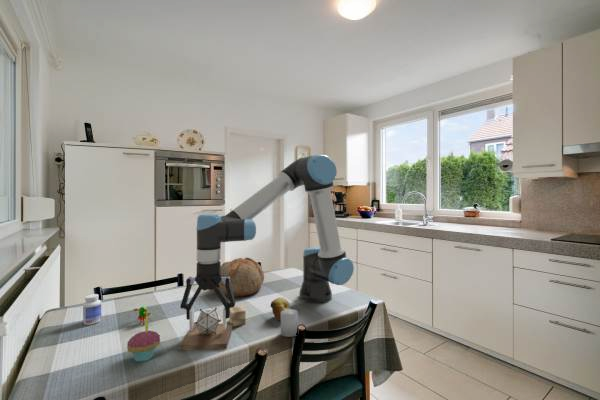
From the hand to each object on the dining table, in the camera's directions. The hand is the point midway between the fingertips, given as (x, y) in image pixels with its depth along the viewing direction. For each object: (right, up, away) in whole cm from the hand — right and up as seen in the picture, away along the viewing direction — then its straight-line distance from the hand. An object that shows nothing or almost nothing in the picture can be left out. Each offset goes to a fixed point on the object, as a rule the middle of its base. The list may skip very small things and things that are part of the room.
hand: (208, 328), depth 95 cm
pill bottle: (-46, -3, +11) cm, 48 cm away
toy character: (-27, -3, +10) cm, 29 cm away
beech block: (+7, -3, +12) cm, 14 cm away
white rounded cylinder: (+27, -3, +4) cm, 27 cm away
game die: (0, -2, 0) cm, 2 cm away
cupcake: (-15, -4, -11) cm, 19 cm away
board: (0, -3, 0) cm, 3 cm away
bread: (0, -3, +50) cm, 50 cm away
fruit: (+23, -3, +15) cm, 28 cm away
